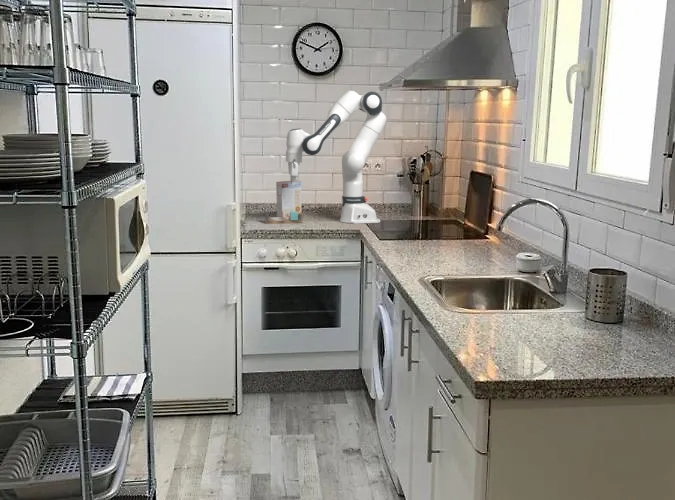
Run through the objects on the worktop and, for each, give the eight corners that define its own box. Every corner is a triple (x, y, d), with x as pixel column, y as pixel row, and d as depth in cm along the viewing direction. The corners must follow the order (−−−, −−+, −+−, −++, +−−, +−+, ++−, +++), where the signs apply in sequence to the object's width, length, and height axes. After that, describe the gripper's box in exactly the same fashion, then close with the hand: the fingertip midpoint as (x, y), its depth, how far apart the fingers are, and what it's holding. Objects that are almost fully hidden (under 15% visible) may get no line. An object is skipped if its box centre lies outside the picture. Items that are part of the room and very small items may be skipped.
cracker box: (295, 215, 412) (295, 180, 408) (302, 216, 407) (301, 180, 403) (276, 217, 403) (275, 181, 399) (282, 218, 399) (281, 182, 395)
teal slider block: (297, 218, 389) (297, 211, 388) (297, 220, 385) (297, 212, 384) (290, 219, 389) (290, 211, 388) (290, 220, 384) (290, 212, 383)
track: (300, 220, 392) (300, 210, 391) (301, 223, 383) (301, 212, 382) (264, 221, 390) (264, 211, 389) (265, 223, 380) (265, 213, 379)
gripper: (301, 160, 371) (300, 186, 373) (298, 157, 391) (297, 182, 393) (289, 159, 370) (288, 185, 372) (287, 157, 390) (286, 182, 392)
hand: (292, 184), depth 383 cm, fingers open, 8 cm apart
